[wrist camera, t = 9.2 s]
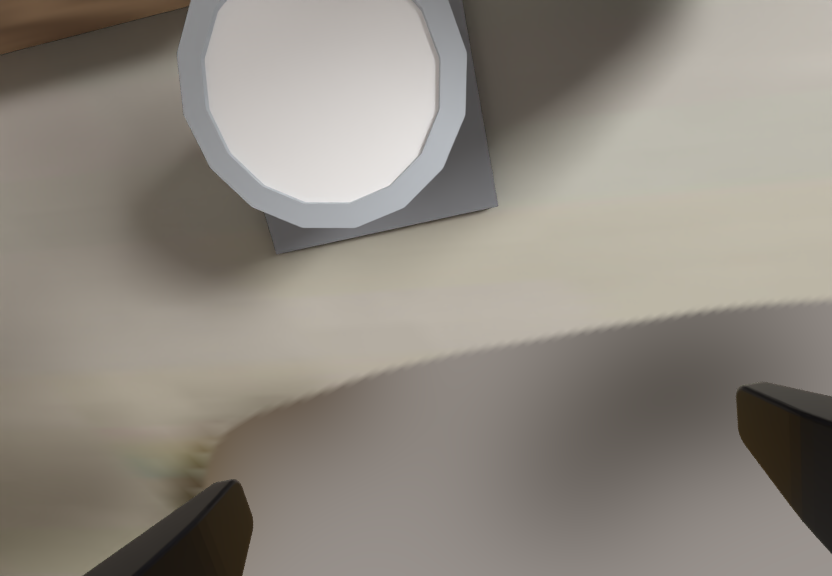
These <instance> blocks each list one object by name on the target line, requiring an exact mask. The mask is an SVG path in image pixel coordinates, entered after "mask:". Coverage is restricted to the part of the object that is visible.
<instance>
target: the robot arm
mask: <svg viewBox="0 0 832 576" xmlns="http://www.w3.org/2000/svg"><path fill="white" fill-rule="evenodd" d="M736 403H737V420H738V431H739V435H740V437H741V439H742V441H743V443H744V444H745V446H746V447H747V448H748V450H749V451H750V452H751V454H752V455H753V456H754V458H755V459H756V460H757V462H758V463H759V464H760V466H761V467H762V468H763V470H764V471H765V472H766V474H767V475H768V476H769V478H770V479H771V480H772V482H773V483H774V484H775V486H776V487H777V488H778V490H779V491H780V493H781V494H782V495H783V497H784V498H785V499H786V500H787V502H788V503H789V505H790V506H791V507H792V508H793V510H794V511H795V512H796V513H797V514H798V516H799V517H800V518H801V520H802V521H803V522H804V523H805V524H806V526H807V527H808V528H809V529H810V530H811V531H812V532H813V534H814V535H815V536H816V537H817V538H818V539H819V540H820V541H821V543H823V545H824V546H825V547H826V548H827V549H828V550H829V551H830V552H831V553H832V396H827V395H823V394H818V393H813V392H809V391H804V390H800V389H795V388H791V387H786V386H782V385H777V384H773V383H768V382H758V383H753V384H747V385H742V386H740V387H739V388H738V389H737V392H736ZM252 531H253V517H252V514H251V511H250V508H249V505H248V502H247V500H246V497H245V494H244V491H243V488H242V486H241V484H240V483H239V481H237V480H235V479H231V480H226V481H221V482H216V483H214V484H212V485H211V486H209V487H208V488H206V489H205V490H204V491H202V492H201V493H199V494H198V495H196V496H195V497H194V498H192V499H191V500H189V501H188V502H187V503H185V504H184V505H182V506H181V507H179V508H178V509H177V510H175V511H174V512H172V513H171V514H170V515H168V516H167V517H165V518H164V519H162V520H161V521H160V522H158V523H157V524H155V525H154V526H152V527H151V528H150V529H148V530H147V531H145V532H144V533H143V534H141V535H140V536H138V537H137V538H135V539H134V540H133V541H131V542H130V543H128V544H127V545H126V546H124V547H123V548H121V549H120V550H118V551H117V552H116V553H114V554H113V555H111V556H110V557H109V558H107V559H106V560H104V561H103V562H101V563H100V564H99V565H97V566H96V567H94V568H93V569H92V570H90V571H89V572H87V573H86V574H84V575H83V576H242V575H243V570H244V566H245V562H246V557H247V552H248V548H249V544H250V540H251V535H252Z"/></svg>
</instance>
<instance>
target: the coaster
mask: <svg viewBox="0 0 832 576" xmlns="http://www.w3.org/2000/svg"><path fill="white" fill-rule="evenodd" d="M448 1H449V4H450V7H451V10H452V12H453V15H454V18H455V21H456V24H457V27H458V29H459V32H460V35H461V38H462V41H463V43H464V46H465V49H466V52H467V71H466V109H465V117H464V119H463V122H462V124H461V126H460V129H459V131H458V134H457V136H456V138H455V141H454V143H453V146H452V148H451V150H450V153H449V155H448V158H447V160H446V162H445V165H444V167H443V169H442V170H441V171H440V172H439V173H438V174H437V175H436V176H435V177H434V178H433V179H432V180H431V181H430V182H429V183H428V184H427V185H426V186H425V187H424V188H423V189H422V190H421V191H420V192H419V193H418V194H417V195H416V196H415V197H414V198H413V199H412V200H411V201H410V202H409V203H408V204H407V205H406V206H405V207H404V208H402V209H400V210H397V211H395V212H393V213H390V214H388V215H385V216H383V217H380V218H378V219H376V220H373V221H371V222H368V223H366V224H364V225H361V226H359V227H356V228H302V227H299V226H297V225H294V224H292V223H289V222H287V221H284V220H282V219H280V218H277V217H275V216H272V215H270V214H267V213H265V212H264V214H265V217H266V220H267V224H268V227H269V231H270V234H271V237H272V241H273V244H274V248H275V251H276V254H280V253H285V252H290V251H294V250H299V249H303V248H308V247H313V246H317V245H322V244H326V243H331V242H336V241H340V240H345V239H350V238H354V237H359V236H363V235H368V234H373V233H377V232H382V231H386V230H391V229H396V228H400V227H405V226H409V225H414V224H419V223H423V222H428V221H432V220H437V219H442V218H446V217H451V216H455V215H460V214H465V213H469V212H474V211H478V210H483V209H488V208H492V207H497V206H498V202H497V196H496V190H495V185H494V179H493V173H492V168H491V162H490V156H489V150H488V145H487V139H486V133H485V128H484V122H483V116H482V110H481V105H480V99H479V93H478V88H477V82H476V76H475V71H474V65H473V59H472V53H471V48H470V42H469V36H468V31H467V25H466V19H465V13H464V8H463V2H462V0H448Z"/></svg>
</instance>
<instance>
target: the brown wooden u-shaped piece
mask: <svg viewBox="0 0 832 576" xmlns="http://www.w3.org/2000/svg"><path fill="white" fill-rule="evenodd" d="M190 2H191V0H0V55H1V54H5V53H9V52H13V51H16V50H20V49H24V48H28V47H32V46H36V45H40V44H44V43H47V42H51V41H55V40H59V39H63V38H67V37H71V36H75V35H78V34H82V33H86V32H90V31H94V30H98V29H102V28H106V27H109V26H113V25H117V24H121V23H125V22H129V21H133V20H137V19H140V18H144V17H148V16H152V15H156V14H160V13H164V12H168V11H171V10H175V9H179V8H183V7H187V6H189V5H190Z"/></svg>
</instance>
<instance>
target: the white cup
mask: <svg viewBox="0 0 832 576" xmlns="http://www.w3.org/2000/svg"><path fill="white" fill-rule="evenodd" d="M177 61H178V70H179V79H180V87H181V96H182V105H183V114H184V117H185V119H186V121H187V123H188V125H189V127H190V129H191V131H192V133H193V135H194V137H195V139H196V141H197V143H198V145H199V147H200V149H201V151H202V153H203V155H204V157H205V159H206V161H207V163H208V165H209V167H210V168H211V169H212V170H213V171H214V172H215V173H216V174H217V175H218V176H219V177H220V178H221V179H222V180H224V181H225V182H226V183H227V184H228V185H229V186H230V187H231V188H232V189H233V190H234V191H235V192H236V193H237V194H238V195H239V196H241V197H242V198H243V199H244V200H245V201H246V202H247V203H248V204H249V205H250V206H251V207H253V208H255V209H258V210H260V211H263V212H265V213H267V214H270V215H272V216H275V217H277V218H280V219H282V220H284V221H287V222H289V223H292V224H294V225H297V226H299V227H302V228H356V227H359V226H361V225H364V224H366V223H368V222H371V221H373V220H376V219H378V218H380V217H383V216H385V215H388V214H390V213H393V212H395V211H397V210H400V209H402V208H404V207H405V206H406V205H407V204H408V203H409V202H410V201H411V200H412V199H413V198H414V197H415V196H416V195H417V194H418V193H419V192H420V191H421V190H422V189H423V188H424V187H425V186H426V185H427V184H428V183H429V182H430V181H431V180H432V179H433V178H434V177H435V176H436V175H437V174H438V173H439V172H440V171H441V170H442V169H443V167H444V165H445V162H446V160H447V158H448V155H449V153H450V150H451V148H452V146H453V143H454V141H455V138H456V136H457V134H458V131H459V129H460V126H461V124H462V122H463V119H464V117H465V109H466V71H467V52H466V49H465V46H464V43H463V41H462V38H461V35H460V32H459V29H458V27H457V24H456V21H455V18H454V15H453V12H452V10H451V7H450V4H449V1H448V0H191V2H190V5H189V9H188V13H187V17H186V20H185V24H184V28H183V32H182V36H181V39H180V43H179V47H178V51H177Z"/></svg>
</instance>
